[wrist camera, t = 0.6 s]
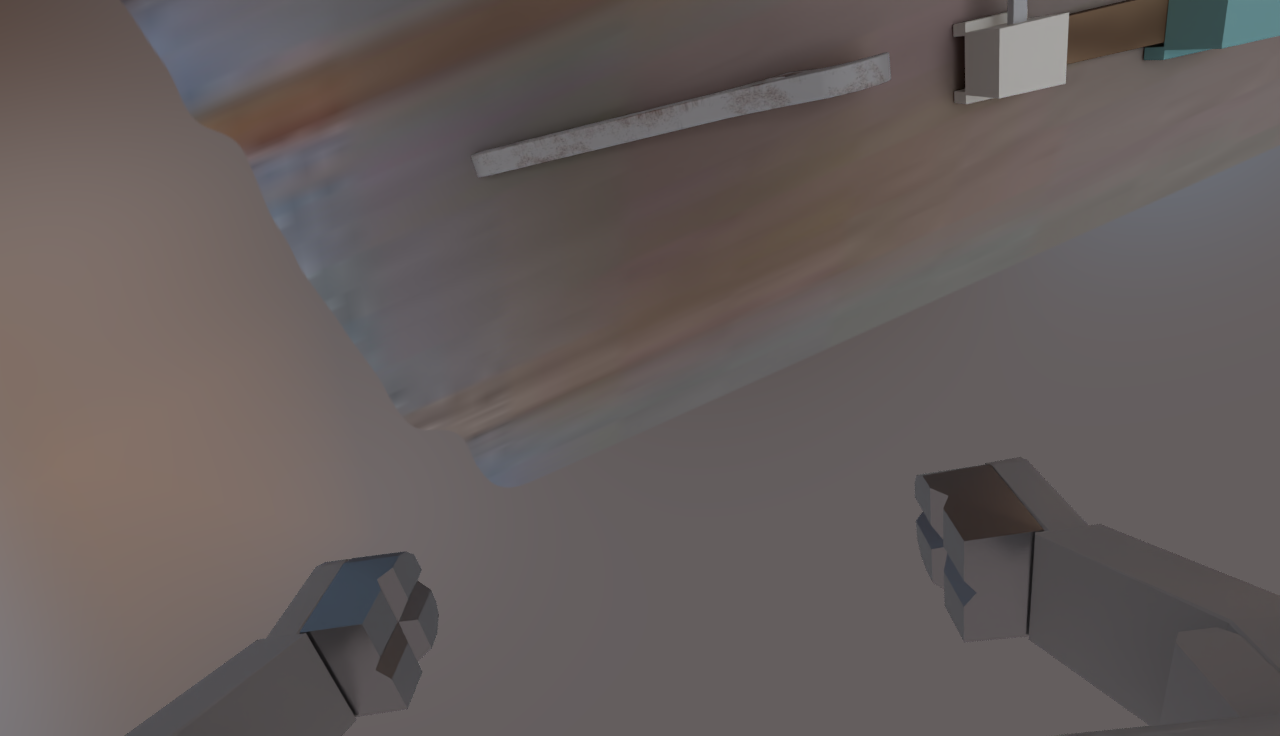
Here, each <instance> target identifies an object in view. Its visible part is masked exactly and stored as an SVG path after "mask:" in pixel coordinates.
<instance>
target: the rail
mask: <svg viewBox="0 0 1280 736" xmlns="http://www.w3.org/2000/svg"><path fill="white" fill-rule="evenodd" d="M1168 5H1169V0H1127V1H1123V2H1118V3H1114V4H1110V5H1106V6H1101V7H1097V8H1093V9H1089V10H1084V11H1080V12H1076V13H1072V14H1069V26H1068V46H1067V64H1070V63H1075V62H1079V61H1084V60H1088V59H1092V58H1097V57H1101V56H1105V55H1110V54H1114V53H1119V52H1123V51H1127V50H1132V49H1136V48H1141V47H1145V46H1149V45H1154V44H1158V43H1163V42H1165V33H1166V23H1167V14H1168Z"/></svg>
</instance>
